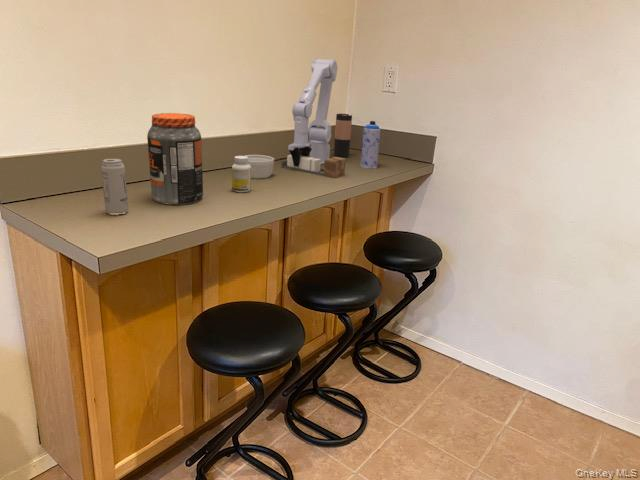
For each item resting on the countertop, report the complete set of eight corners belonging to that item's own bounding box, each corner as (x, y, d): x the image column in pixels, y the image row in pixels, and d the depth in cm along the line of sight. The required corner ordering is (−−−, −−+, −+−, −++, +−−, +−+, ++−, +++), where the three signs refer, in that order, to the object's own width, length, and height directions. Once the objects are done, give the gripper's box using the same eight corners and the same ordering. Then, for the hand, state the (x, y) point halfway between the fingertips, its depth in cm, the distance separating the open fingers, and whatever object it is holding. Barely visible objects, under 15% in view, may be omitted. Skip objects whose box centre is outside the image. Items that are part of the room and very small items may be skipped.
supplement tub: (149, 193, 157) (144, 111, 148) (199, 191, 163) (196, 112, 154) (153, 207, 143) (147, 118, 134) (207, 204, 149) (205, 118, 140)
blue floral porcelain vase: (361, 164, 222) (365, 119, 215) (378, 165, 220) (383, 121, 213) (358, 167, 215) (362, 121, 208) (375, 169, 213) (380, 122, 206)
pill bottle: (243, 187, 171) (243, 154, 167) (254, 191, 167) (255, 157, 163) (228, 189, 167) (227, 156, 163) (239, 194, 163) (239, 159, 159)
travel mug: (332, 157, 233) (335, 114, 226) (334, 154, 241) (337, 113, 234) (348, 158, 232) (351, 115, 225) (349, 155, 240) (353, 114, 233)
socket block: (334, 172, 201) (335, 156, 199) (344, 175, 199) (345, 158, 196) (323, 176, 195) (324, 159, 192) (334, 178, 192) (335, 161, 190)
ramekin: (251, 181, 180) (252, 162, 178) (233, 174, 190) (232, 156, 187) (280, 177, 189) (280, 159, 186) (261, 170, 198) (261, 153, 195)
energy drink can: (127, 215, 135) (123, 162, 130) (104, 216, 133) (98, 162, 128) (129, 209, 140) (125, 158, 135) (106, 210, 139) (101, 158, 133)
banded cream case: (293, 165, 210) (293, 153, 208) (320, 171, 203) (321, 158, 201) (287, 167, 206) (287, 155, 204) (314, 172, 199) (314, 160, 197)
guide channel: (291, 164, 212) (291, 158, 211) (333, 173, 201) (334, 167, 200) (281, 167, 206) (281, 161, 205) (324, 175, 195) (324, 169, 194)
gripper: (298, 135, 192) (297, 169, 197) (318, 132, 204) (317, 164, 209) (284, 133, 196) (283, 166, 201) (305, 130, 207) (303, 161, 212)
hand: (299, 165), depth 205 cm, fingers closed on banded cream case, 4 cm apart
